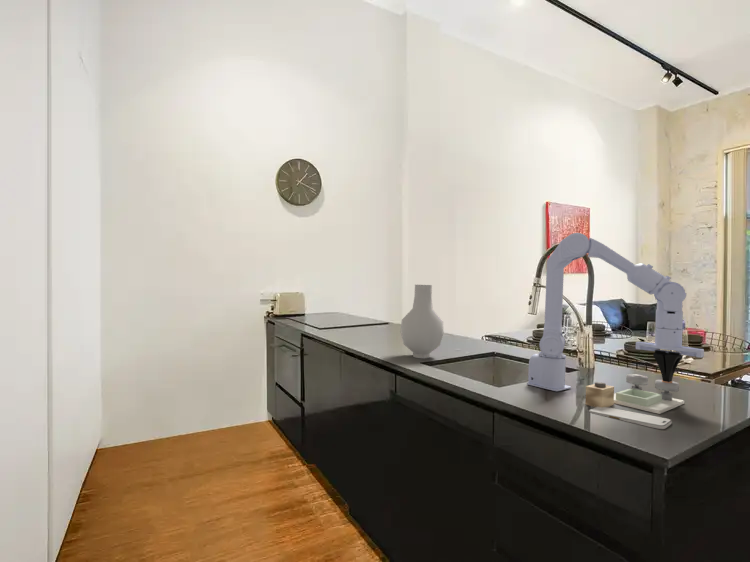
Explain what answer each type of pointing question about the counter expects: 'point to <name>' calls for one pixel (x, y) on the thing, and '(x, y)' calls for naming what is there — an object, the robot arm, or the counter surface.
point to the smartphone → (633, 417)
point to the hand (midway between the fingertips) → (667, 381)
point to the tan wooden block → (599, 395)
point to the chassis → (645, 397)
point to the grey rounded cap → (667, 386)
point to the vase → (422, 324)
